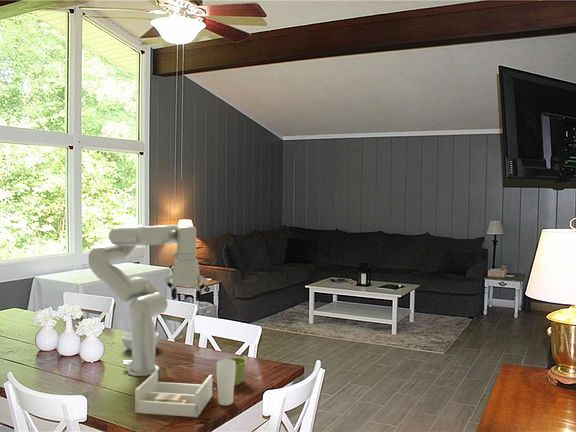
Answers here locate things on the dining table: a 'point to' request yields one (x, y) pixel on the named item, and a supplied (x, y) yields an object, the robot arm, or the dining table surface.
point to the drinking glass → (225, 381)
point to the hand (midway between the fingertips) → (186, 299)
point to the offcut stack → (169, 398)
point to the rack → (190, 392)
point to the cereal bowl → (128, 340)
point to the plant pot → (238, 369)
